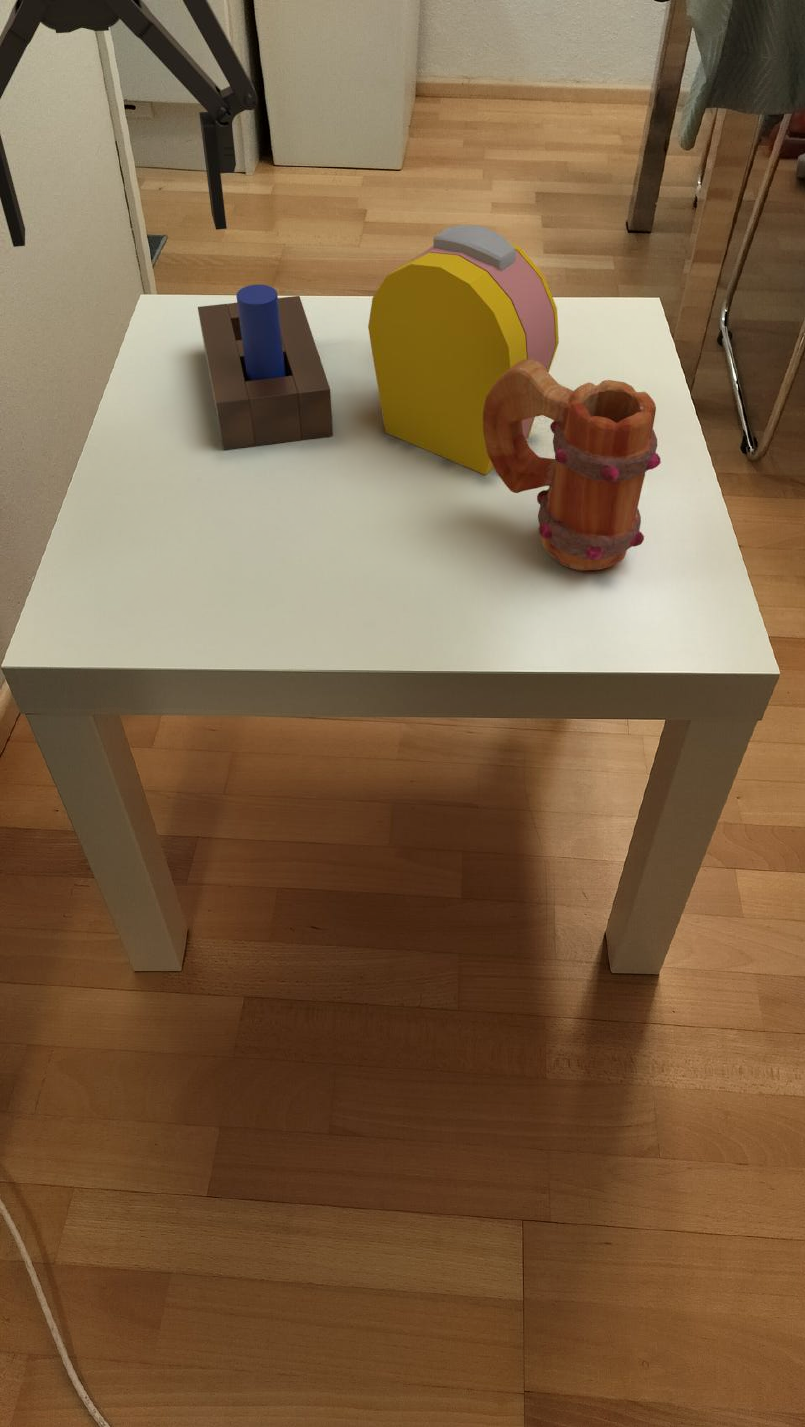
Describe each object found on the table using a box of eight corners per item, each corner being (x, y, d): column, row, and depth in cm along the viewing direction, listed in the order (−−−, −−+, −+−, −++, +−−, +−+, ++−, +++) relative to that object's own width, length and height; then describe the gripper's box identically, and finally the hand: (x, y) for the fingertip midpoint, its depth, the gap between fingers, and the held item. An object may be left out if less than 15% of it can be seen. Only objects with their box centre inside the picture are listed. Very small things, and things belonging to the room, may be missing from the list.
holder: (223, 450, 93) (215, 403, 89) (204, 352, 104) (197, 306, 101) (333, 436, 95) (330, 388, 91) (303, 340, 106) (299, 295, 102)
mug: (655, 543, 85) (694, 383, 73) (615, 598, 80) (650, 438, 69) (503, 486, 90) (518, 328, 78) (457, 535, 85) (466, 376, 74)
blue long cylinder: (254, 425, 96) (238, 306, 87) (249, 405, 98) (234, 286, 89) (291, 421, 96) (279, 301, 87) (285, 400, 98) (274, 282, 89)
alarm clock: (548, 439, 94) (574, 243, 80) (502, 482, 90) (520, 283, 76) (420, 387, 100) (423, 197, 86) (370, 425, 96) (365, 231, 82)
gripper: (265, -192, 58) (290, 193, 74) (-198, -186, 54) (-65, 221, 70) (285, -170, 53) (307, 237, 69) (-220, -161, 49) (-72, 270, 65)
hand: (121, 230), depth 69 cm, fingers open, 13 cm apart
